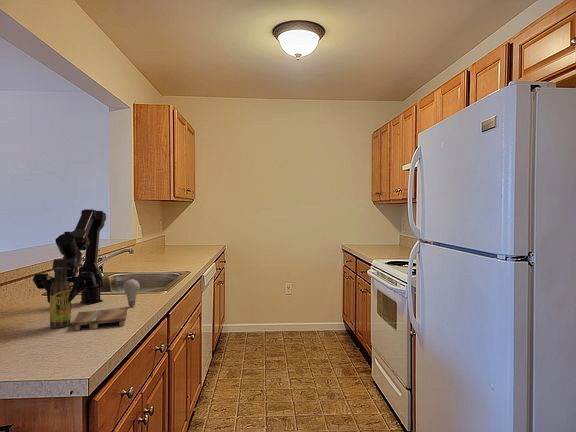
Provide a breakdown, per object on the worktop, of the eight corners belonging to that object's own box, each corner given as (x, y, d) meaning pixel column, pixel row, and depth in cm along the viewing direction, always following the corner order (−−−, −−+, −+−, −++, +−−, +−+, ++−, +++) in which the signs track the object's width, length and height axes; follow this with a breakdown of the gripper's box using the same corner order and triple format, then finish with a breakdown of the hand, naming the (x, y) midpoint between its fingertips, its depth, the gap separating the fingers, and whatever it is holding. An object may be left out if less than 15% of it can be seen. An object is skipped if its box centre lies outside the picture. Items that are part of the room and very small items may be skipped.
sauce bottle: (56, 329, 129) (55, 269, 128) (45, 327, 132) (44, 267, 131) (75, 324, 134) (74, 266, 134) (64, 322, 138) (63, 265, 137)
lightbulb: (126, 309, 154) (126, 281, 154) (121, 306, 159) (121, 279, 159) (142, 306, 158) (142, 279, 158) (136, 303, 163) (136, 277, 163)
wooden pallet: (72, 330, 128) (72, 322, 128) (78, 319, 141) (78, 312, 141) (125, 325, 134) (125, 318, 134) (127, 314, 147) (127, 307, 147)
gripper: (34, 250, 135) (19, 289, 124) (93, 249, 138) (83, 286, 128) (44, 269, 143) (31, 307, 132) (99, 267, 146) (91, 305, 136)
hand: (59, 301), depth 132 cm, fingers closed on sauce bottle, 6 cm apart
